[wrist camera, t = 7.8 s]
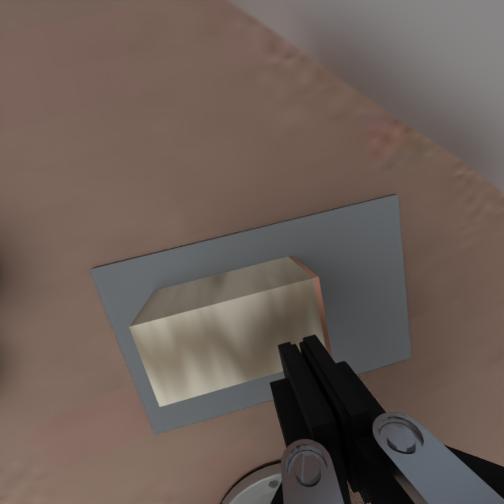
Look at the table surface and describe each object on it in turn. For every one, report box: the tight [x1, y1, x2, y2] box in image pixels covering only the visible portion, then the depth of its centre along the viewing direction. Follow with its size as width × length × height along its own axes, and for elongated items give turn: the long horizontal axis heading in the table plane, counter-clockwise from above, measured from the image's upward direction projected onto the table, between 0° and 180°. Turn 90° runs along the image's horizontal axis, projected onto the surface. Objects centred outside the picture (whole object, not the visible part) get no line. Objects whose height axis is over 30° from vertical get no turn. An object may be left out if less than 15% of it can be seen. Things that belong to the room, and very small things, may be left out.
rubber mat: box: [90, 194, 412, 435], centre depth 19 cm, size 14×22×1 cm, turn 103°
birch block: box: [129, 256, 332, 407], centre depth 16 cm, size 5×5×10 cm
